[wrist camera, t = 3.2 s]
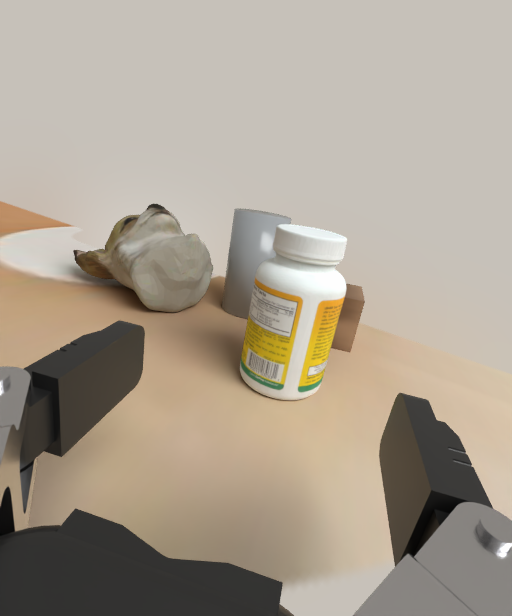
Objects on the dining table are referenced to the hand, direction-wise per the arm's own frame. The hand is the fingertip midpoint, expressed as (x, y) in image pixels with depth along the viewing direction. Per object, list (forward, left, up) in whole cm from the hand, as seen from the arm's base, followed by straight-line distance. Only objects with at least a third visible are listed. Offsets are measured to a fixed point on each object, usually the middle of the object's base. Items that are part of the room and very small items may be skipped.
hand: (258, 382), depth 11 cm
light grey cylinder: (-5, +22, -6) cm, 23 cm away
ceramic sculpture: (-15, +20, -6) cm, 26 cm away
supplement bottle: (0, +11, -6) cm, 12 cm away
